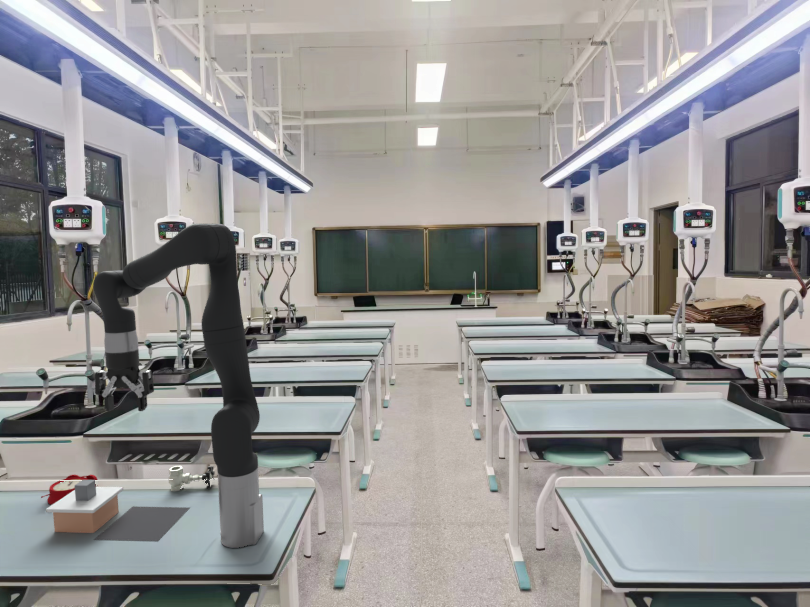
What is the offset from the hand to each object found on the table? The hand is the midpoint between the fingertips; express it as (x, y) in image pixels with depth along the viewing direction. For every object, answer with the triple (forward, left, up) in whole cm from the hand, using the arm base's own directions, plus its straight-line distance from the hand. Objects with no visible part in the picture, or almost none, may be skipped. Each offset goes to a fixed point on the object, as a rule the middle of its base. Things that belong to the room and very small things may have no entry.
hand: (126, 410), depth 132 cm
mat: (-6, +5, -28) cm, 29 cm away
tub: (+9, +5, -28) cm, 30 cm away
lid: (+9, +5, -22) cm, 24 cm away
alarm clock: (+24, -10, -29) cm, 39 cm away
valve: (-9, -14, -28) cm, 33 cm away
